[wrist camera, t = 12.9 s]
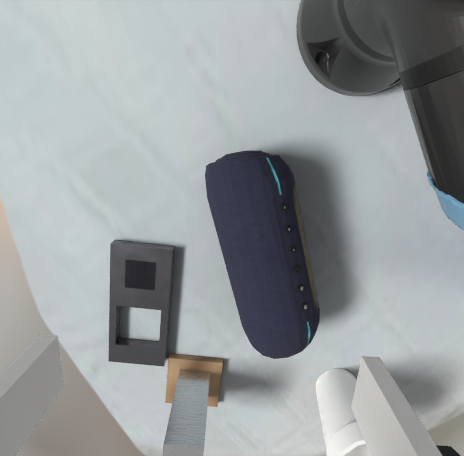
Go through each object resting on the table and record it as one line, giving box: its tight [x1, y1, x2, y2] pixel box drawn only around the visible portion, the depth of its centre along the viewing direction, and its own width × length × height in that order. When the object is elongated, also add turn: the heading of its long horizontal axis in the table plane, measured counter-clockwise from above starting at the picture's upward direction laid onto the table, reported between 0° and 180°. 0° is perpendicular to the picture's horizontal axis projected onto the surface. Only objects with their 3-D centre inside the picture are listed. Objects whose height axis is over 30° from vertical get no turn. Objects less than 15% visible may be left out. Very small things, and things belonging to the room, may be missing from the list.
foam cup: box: [316, 369, 371, 456], centre depth 42 cm, size 10×9×13 cm
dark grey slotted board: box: [109, 240, 174, 366], centre depth 44 cm, size 8×18×2 cm, turn 173°
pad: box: [165, 354, 223, 407], centre depth 48 cm, size 8×8×1 cm
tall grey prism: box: [163, 369, 210, 456], centre depth 41 cm, size 4×4×12 cm
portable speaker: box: [205, 151, 320, 359], centre depth 38 cm, size 25×10×10 cm, turn 14°
